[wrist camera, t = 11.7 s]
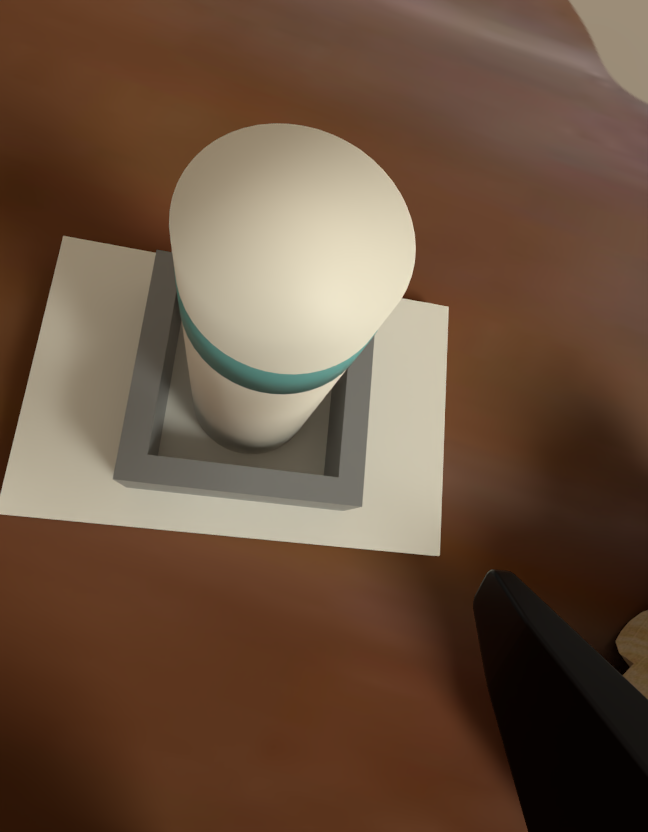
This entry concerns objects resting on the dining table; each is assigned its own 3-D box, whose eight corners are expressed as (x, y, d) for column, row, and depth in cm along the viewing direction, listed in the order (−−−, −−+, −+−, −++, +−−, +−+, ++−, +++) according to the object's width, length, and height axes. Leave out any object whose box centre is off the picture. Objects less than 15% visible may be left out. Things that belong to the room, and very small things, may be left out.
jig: (429, 555, 24) (471, 558, 20) (7, 515, 21) (-42, 509, 17) (438, 316, 27) (477, 278, 23) (70, 250, 24) (41, 192, 20)
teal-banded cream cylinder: (223, 475, 22) (237, 389, 10) (172, 369, 22) (124, 160, 10) (328, 424, 23) (458, 294, 11) (277, 327, 24) (347, 98, 12)
